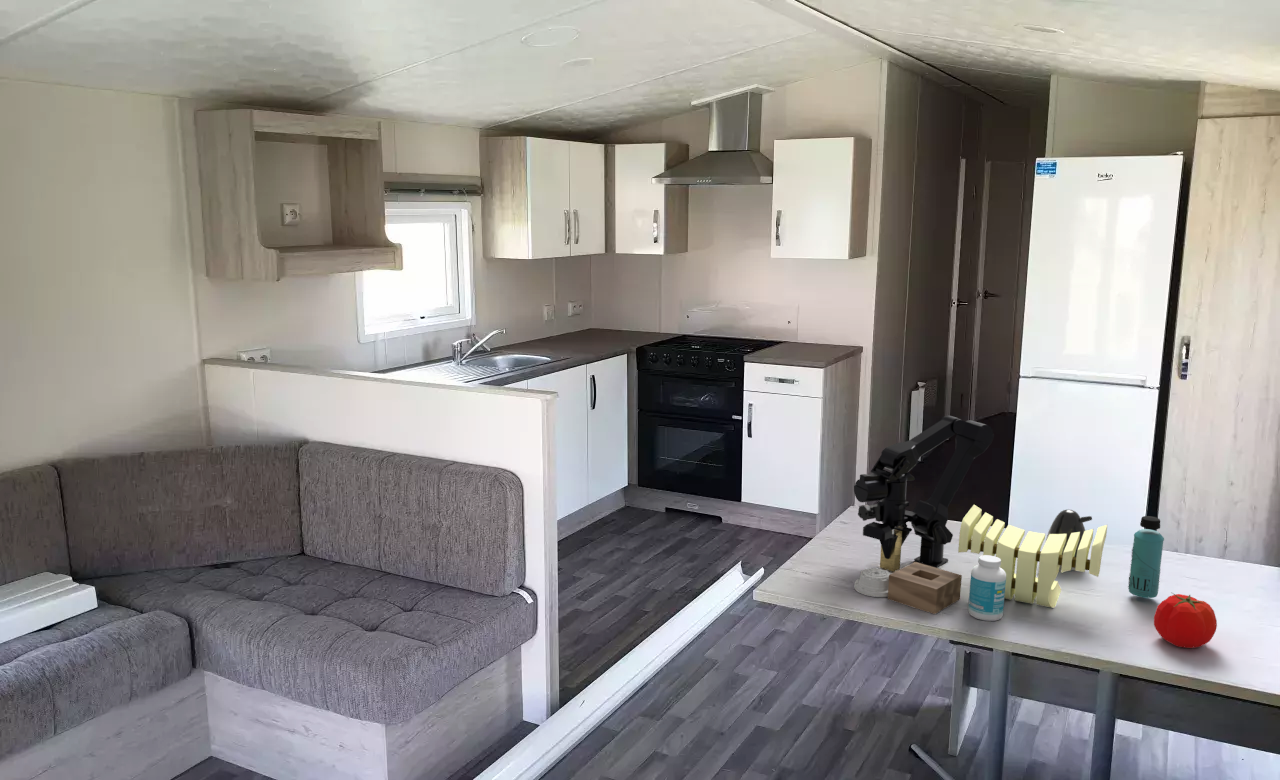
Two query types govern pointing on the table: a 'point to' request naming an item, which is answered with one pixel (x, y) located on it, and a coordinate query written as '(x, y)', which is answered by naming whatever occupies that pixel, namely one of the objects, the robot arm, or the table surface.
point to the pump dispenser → (1068, 526)
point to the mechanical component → (873, 582)
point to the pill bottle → (987, 589)
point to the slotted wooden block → (924, 587)
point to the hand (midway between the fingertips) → (890, 556)
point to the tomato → (1185, 621)
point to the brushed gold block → (892, 555)
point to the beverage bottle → (1146, 559)
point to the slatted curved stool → (1031, 555)
